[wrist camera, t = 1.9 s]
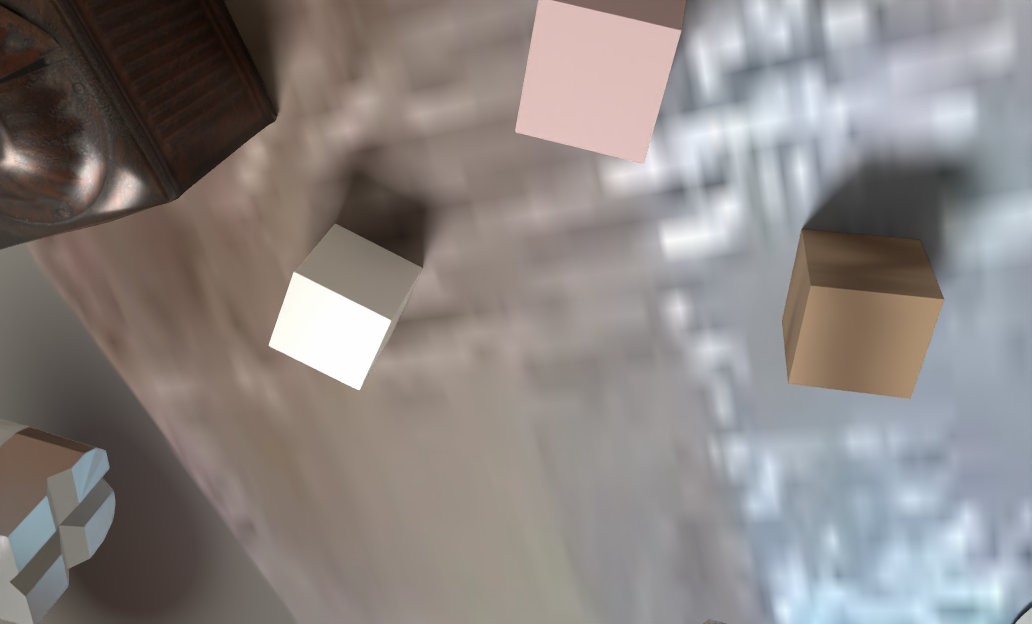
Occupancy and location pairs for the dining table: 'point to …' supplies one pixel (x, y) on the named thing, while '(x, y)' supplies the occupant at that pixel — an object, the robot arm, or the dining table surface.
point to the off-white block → (344, 305)
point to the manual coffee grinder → (116, 107)
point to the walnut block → (859, 313)
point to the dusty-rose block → (599, 73)
